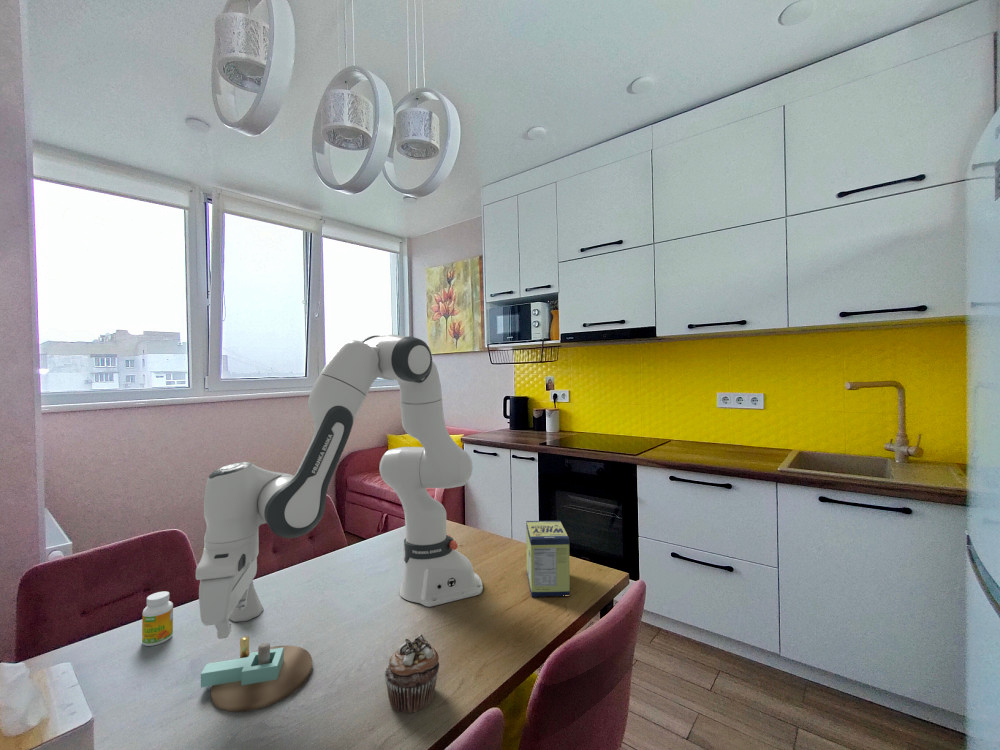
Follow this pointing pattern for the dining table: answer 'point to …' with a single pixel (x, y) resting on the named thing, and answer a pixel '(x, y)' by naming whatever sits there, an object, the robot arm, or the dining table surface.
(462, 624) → the dining table surface
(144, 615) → the supplement bottle
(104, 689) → the dining table surface
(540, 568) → the protein box
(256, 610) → the flask
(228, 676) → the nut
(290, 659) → the disc base
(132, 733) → the dining table surface
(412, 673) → the cupcake
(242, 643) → the dowel
